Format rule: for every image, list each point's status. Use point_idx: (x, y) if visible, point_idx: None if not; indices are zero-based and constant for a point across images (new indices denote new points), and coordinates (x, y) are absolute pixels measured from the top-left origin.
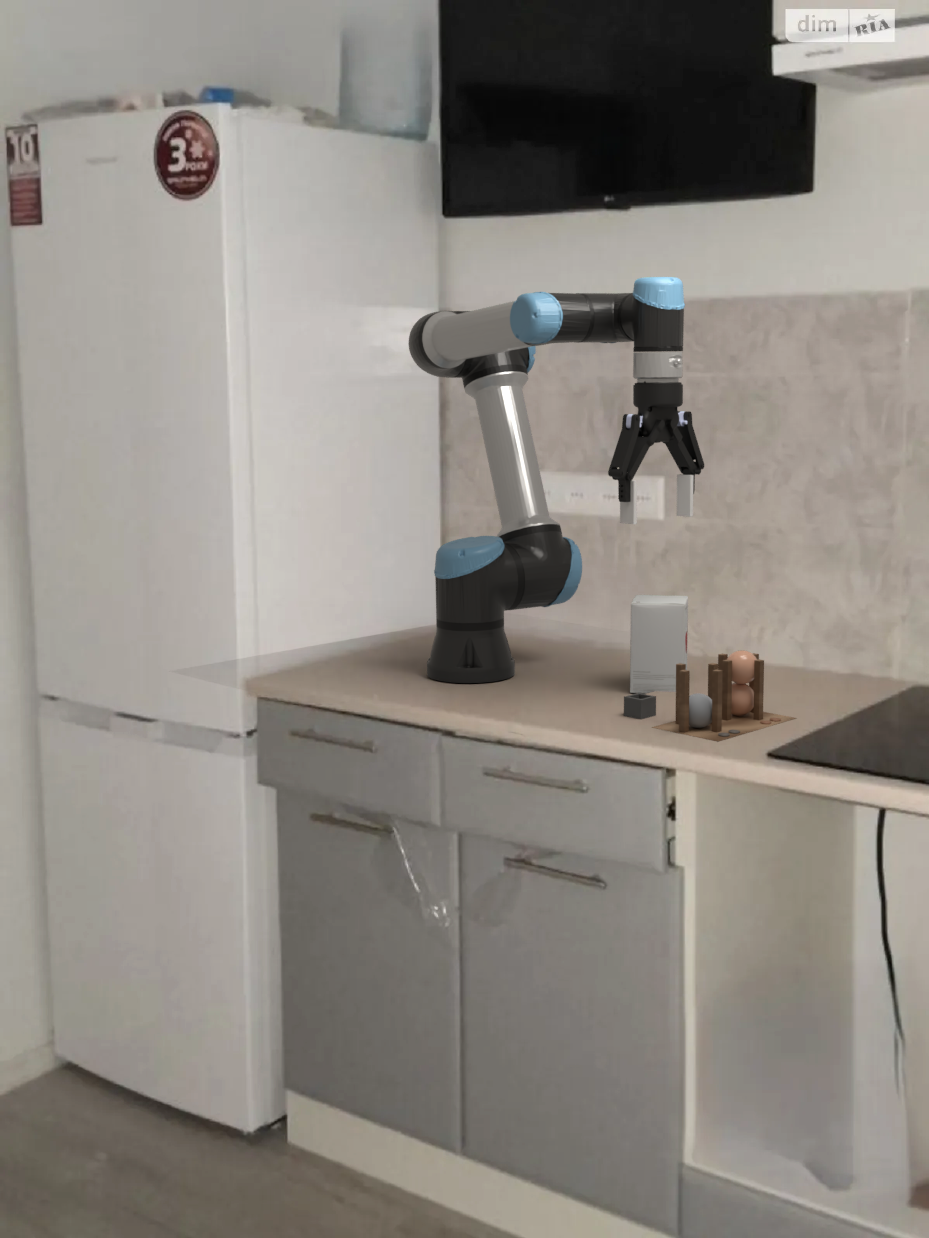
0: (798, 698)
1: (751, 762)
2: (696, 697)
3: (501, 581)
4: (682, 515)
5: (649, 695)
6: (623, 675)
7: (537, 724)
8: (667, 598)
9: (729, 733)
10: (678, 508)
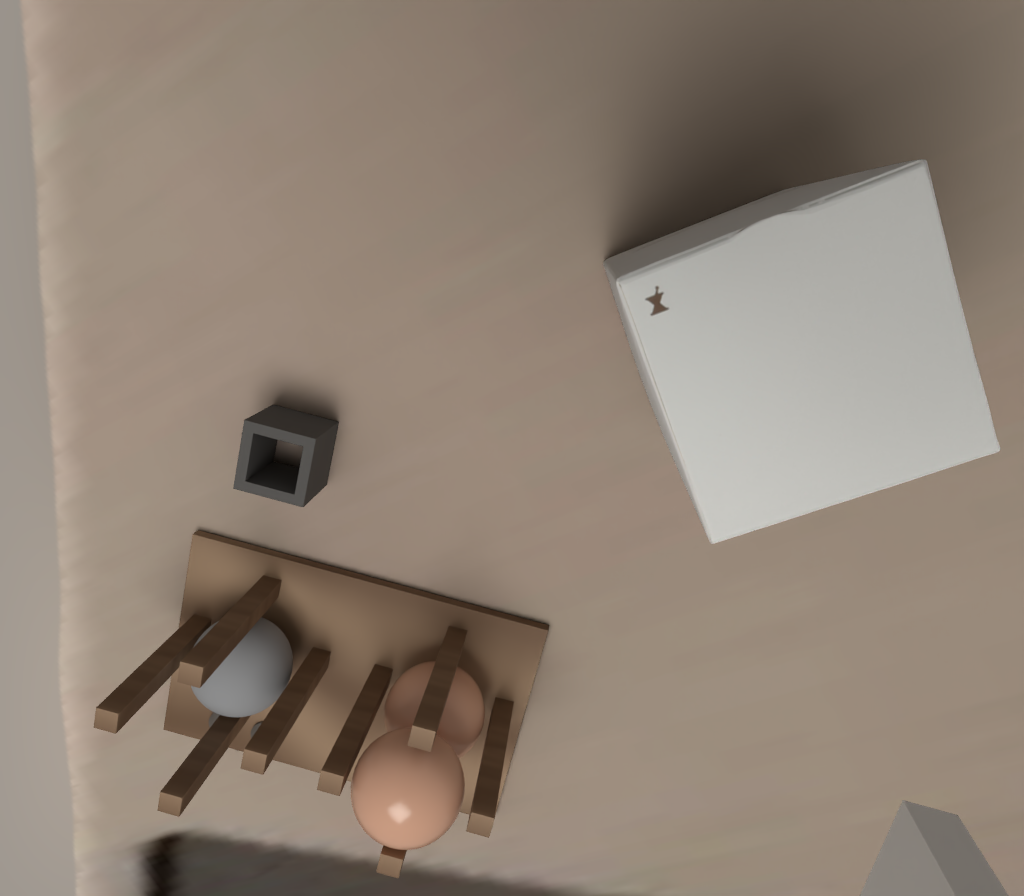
0: (781, 743)
1: (86, 826)
2: (198, 690)
3: None
4: (877, 876)
5: (303, 484)
6: (903, 81)
7: (76, 200)
8: (832, 403)
9: (249, 727)
10: (930, 889)
